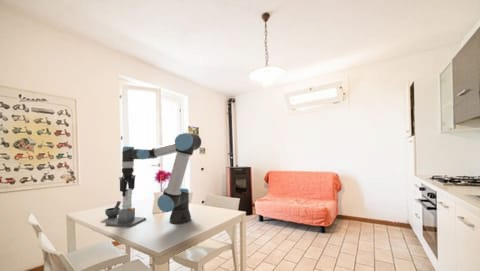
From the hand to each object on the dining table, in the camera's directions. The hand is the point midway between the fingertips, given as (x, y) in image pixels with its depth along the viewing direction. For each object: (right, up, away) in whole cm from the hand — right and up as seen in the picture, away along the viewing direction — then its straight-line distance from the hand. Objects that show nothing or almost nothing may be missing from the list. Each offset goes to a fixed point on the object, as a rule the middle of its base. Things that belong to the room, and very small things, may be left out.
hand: (127, 199), depth 153 cm
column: (0, -9, -1) cm, 9 cm away
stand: (0, -16, -1) cm, 16 cm away
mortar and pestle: (-16, -17, +10) cm, 25 cm away
